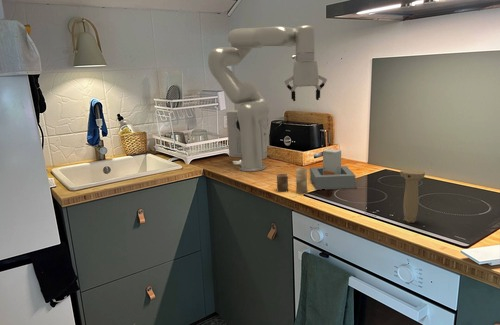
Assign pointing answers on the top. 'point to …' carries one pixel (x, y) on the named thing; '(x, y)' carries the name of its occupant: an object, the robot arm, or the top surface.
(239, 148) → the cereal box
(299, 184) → the grey brown upright block
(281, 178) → the short walnut dowel
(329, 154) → the skincare box
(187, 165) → the top surface
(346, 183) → the socket block
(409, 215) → the handle
